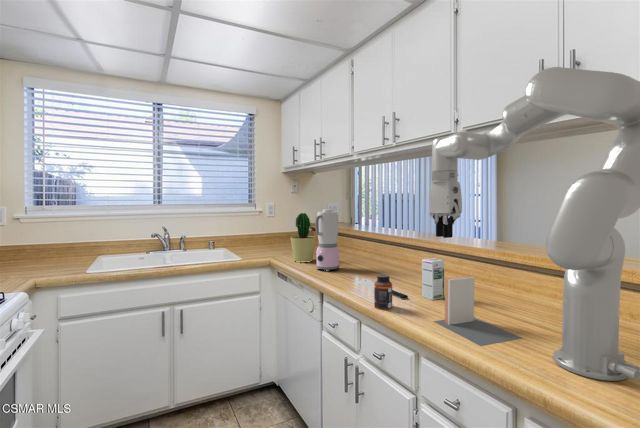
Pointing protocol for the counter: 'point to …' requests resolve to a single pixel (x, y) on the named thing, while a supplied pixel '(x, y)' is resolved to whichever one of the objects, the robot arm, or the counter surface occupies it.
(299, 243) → the potted cactus
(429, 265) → the syrup box
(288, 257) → the counter surface
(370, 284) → the kitchen cleaver
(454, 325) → the mat
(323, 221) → the blender
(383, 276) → the supplement bottle
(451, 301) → the tile
